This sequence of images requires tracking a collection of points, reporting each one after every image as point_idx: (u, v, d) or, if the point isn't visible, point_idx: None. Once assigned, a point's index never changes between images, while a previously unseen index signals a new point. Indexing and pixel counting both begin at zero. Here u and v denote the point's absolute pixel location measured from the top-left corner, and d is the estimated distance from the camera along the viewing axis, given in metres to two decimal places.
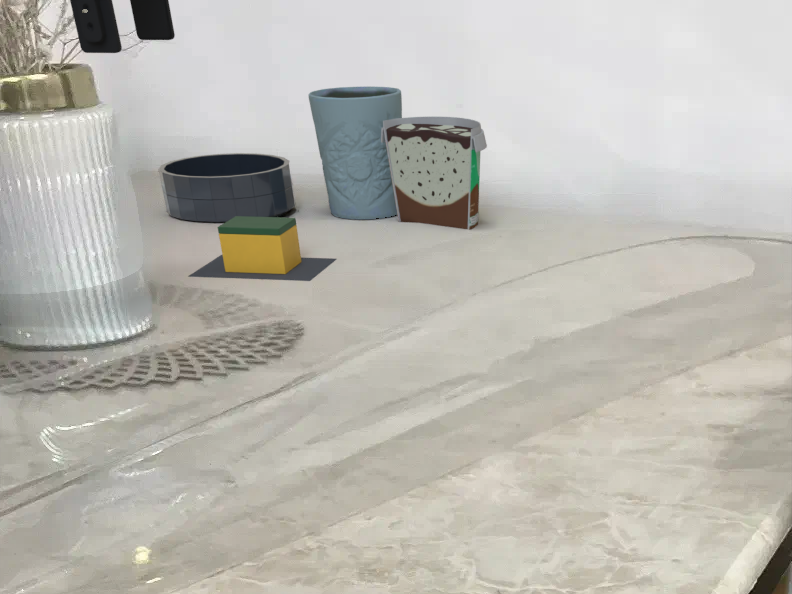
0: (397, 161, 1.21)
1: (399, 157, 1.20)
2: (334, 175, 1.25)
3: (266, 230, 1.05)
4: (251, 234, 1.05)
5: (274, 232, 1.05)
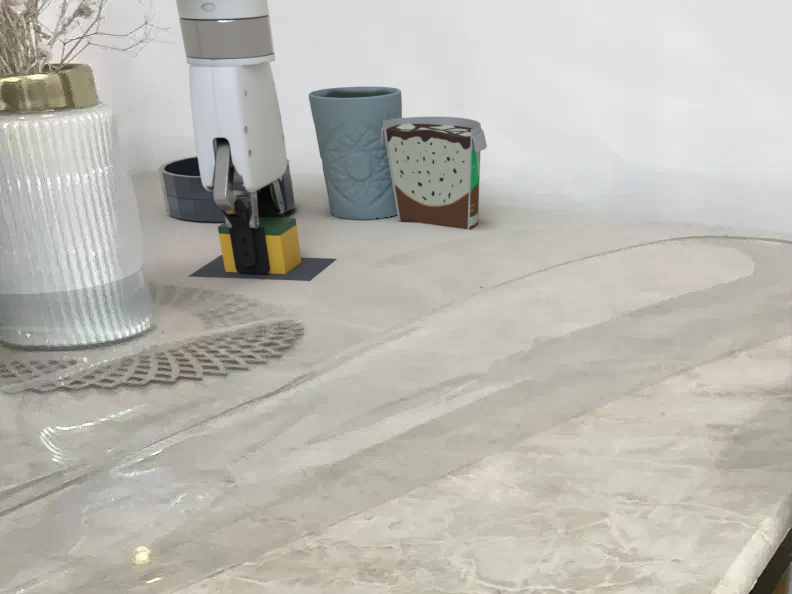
0: (397, 161, 1.21)
1: (399, 157, 1.20)
2: (334, 175, 1.25)
3: (266, 230, 1.05)
4: None
5: (274, 232, 1.05)
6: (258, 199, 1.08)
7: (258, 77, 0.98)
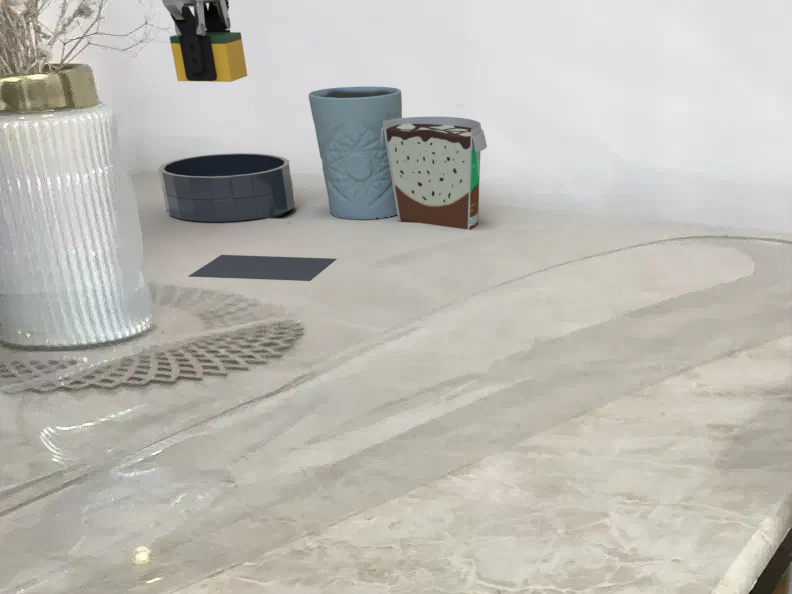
0: (397, 161, 1.21)
1: (399, 157, 1.20)
2: (334, 175, 1.25)
3: (213, 38, 1.16)
4: None
5: (220, 40, 1.16)
6: (207, 16, 1.20)
7: None
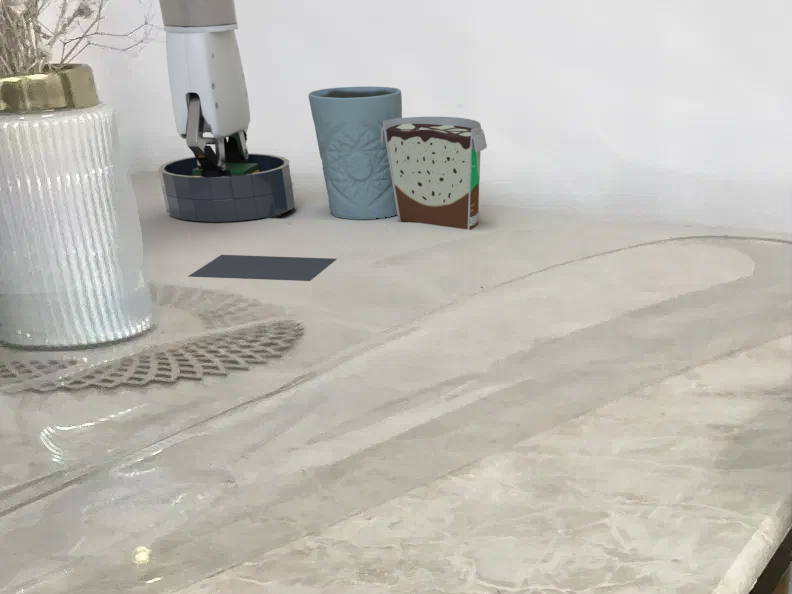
0: (397, 161, 1.21)
1: (399, 157, 1.20)
2: (334, 175, 1.25)
3: (232, 172, 1.25)
4: None
5: (239, 174, 1.25)
6: (226, 148, 1.28)
7: (223, 42, 1.19)
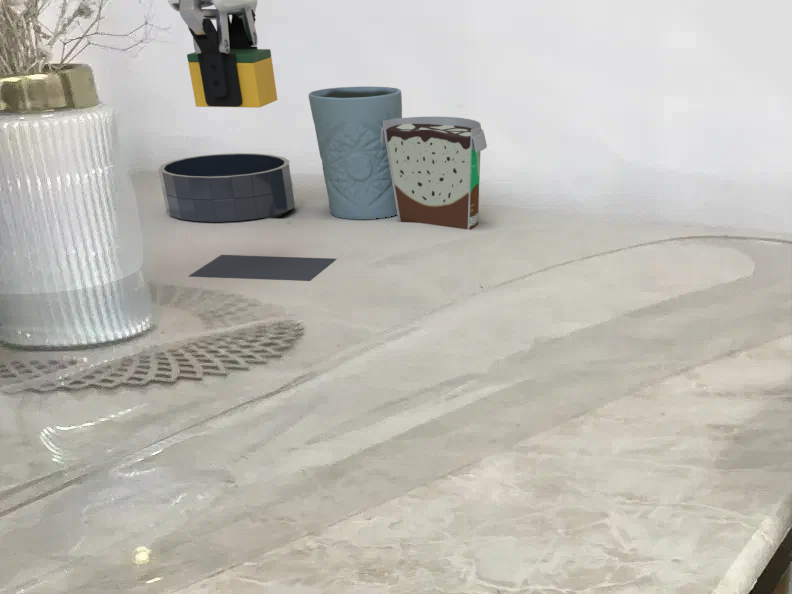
0: (397, 161, 1.21)
1: (399, 157, 1.20)
2: (334, 175, 1.25)
3: (238, 57, 0.98)
4: None
5: (247, 59, 0.98)
6: (229, 30, 1.02)
7: None
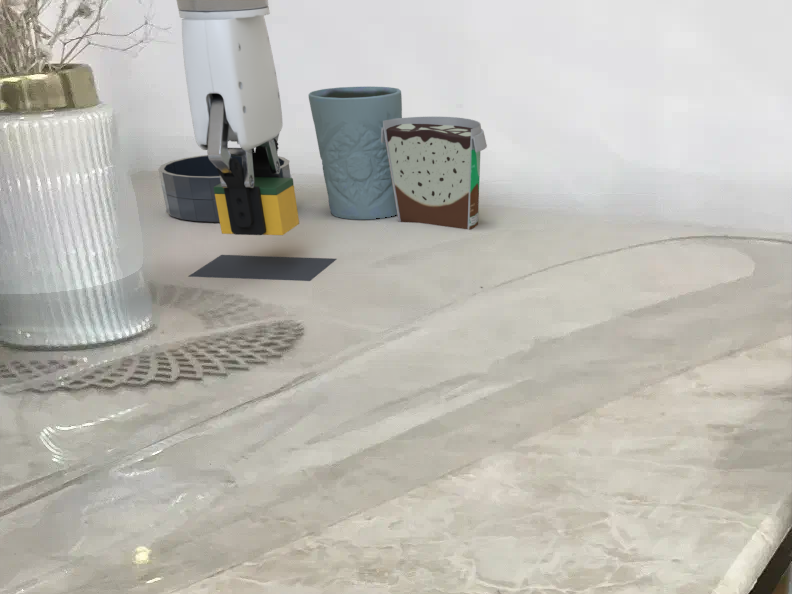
0: (397, 161, 1.21)
1: (399, 157, 1.20)
2: (334, 175, 1.25)
3: (263, 190, 1.03)
4: None
5: (271, 192, 1.03)
6: (254, 159, 1.06)
7: (252, 31, 0.96)
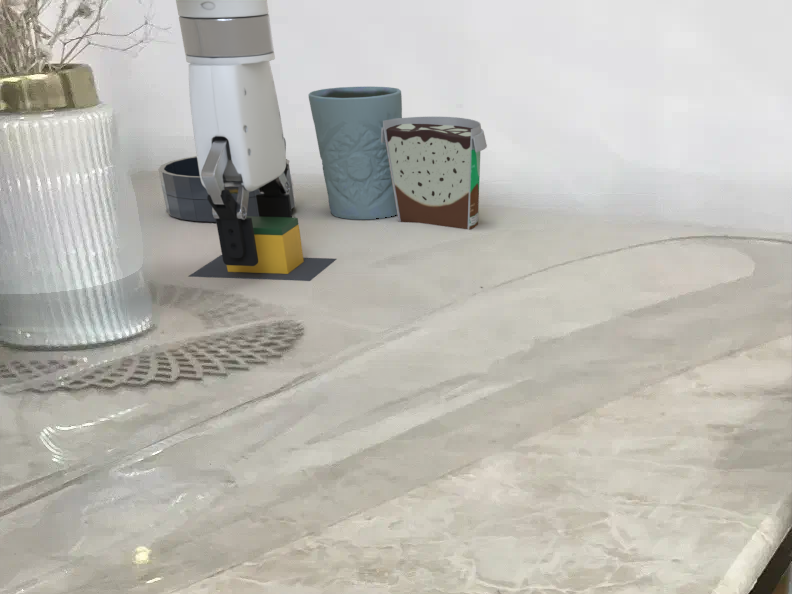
0: (397, 161, 1.21)
1: (399, 157, 1.20)
2: (334, 175, 1.25)
3: (268, 230, 1.05)
4: None
5: (276, 232, 1.05)
6: None
7: (257, 76, 0.98)
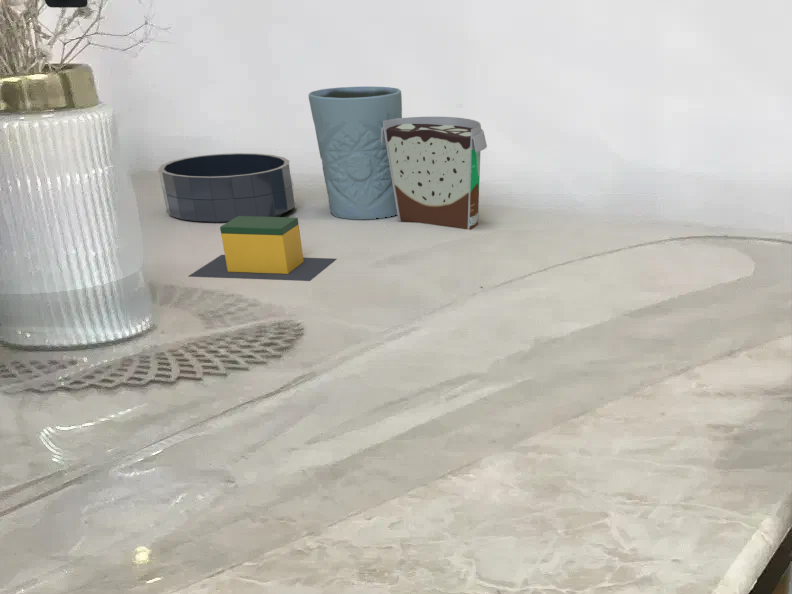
0: (397, 161, 1.21)
1: (399, 157, 1.20)
2: (334, 175, 1.25)
3: (268, 230, 1.05)
4: (253, 234, 1.05)
5: (276, 232, 1.05)
6: None
7: None
